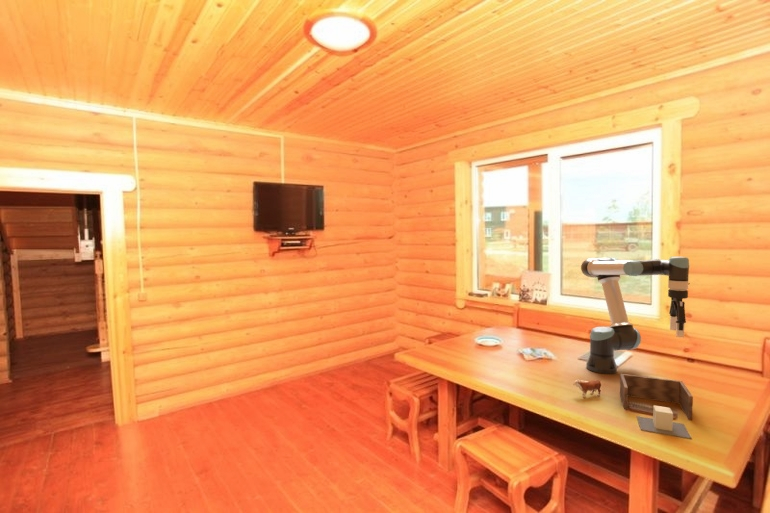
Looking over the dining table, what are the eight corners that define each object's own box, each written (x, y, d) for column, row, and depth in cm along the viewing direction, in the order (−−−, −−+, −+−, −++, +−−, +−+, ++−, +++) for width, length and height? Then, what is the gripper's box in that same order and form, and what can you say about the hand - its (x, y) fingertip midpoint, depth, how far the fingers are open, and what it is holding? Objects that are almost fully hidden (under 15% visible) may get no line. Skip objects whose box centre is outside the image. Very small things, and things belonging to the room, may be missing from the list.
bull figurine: (571, 394, 187) (571, 378, 186) (598, 393, 188) (598, 376, 187) (576, 398, 182) (577, 381, 182) (603, 397, 183) (604, 380, 183)
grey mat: (641, 430, 153) (641, 429, 153) (636, 416, 164) (636, 416, 164) (691, 439, 146) (691, 438, 146) (683, 424, 157) (683, 423, 157)
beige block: (655, 428, 154) (655, 411, 153) (652, 421, 159) (653, 405, 158) (672, 431, 151) (673, 413, 151) (669, 424, 156) (669, 407, 156)
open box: (624, 409, 171) (624, 387, 170) (619, 393, 187) (620, 373, 186) (692, 420, 160) (692, 396, 159) (681, 402, 176) (682, 381, 175)
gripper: (695, 293, 172) (693, 340, 173) (681, 286, 194) (680, 327, 196) (674, 292, 175) (672, 339, 177) (663, 285, 198) (661, 326, 199)
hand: (676, 333), depth 186 cm, fingers open, 13 cm apart
